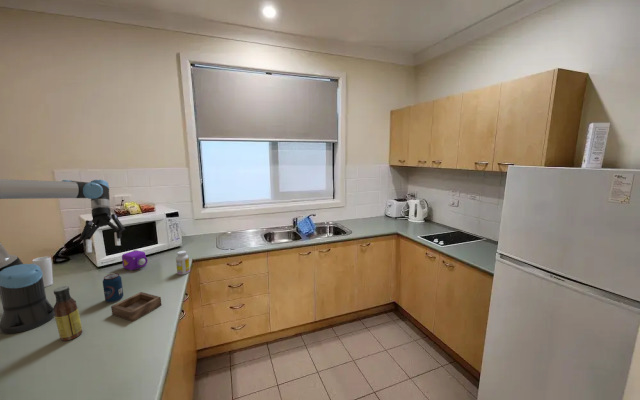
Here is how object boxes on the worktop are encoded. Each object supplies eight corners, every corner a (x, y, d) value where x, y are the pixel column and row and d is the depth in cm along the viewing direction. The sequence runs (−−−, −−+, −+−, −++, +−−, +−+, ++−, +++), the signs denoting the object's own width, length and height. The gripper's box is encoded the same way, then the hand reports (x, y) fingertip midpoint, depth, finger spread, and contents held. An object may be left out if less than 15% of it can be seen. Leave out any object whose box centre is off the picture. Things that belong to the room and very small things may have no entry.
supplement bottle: (189, 269, 158) (187, 249, 156) (190, 273, 152) (188, 252, 150) (176, 271, 154) (175, 251, 152) (177, 276, 148) (175, 254, 146)
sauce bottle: (81, 328, 102) (73, 282, 99) (84, 335, 98) (76, 287, 95) (57, 337, 97) (49, 288, 94) (60, 344, 93) (51, 294, 90)
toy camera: (138, 272, 153) (136, 256, 152) (119, 270, 156) (117, 254, 154) (153, 265, 164) (152, 250, 162) (135, 263, 167) (133, 248, 165)
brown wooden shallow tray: (132, 321, 107) (131, 312, 106) (112, 314, 111) (111, 306, 111) (161, 305, 119) (160, 297, 118) (142, 299, 124) (141, 291, 123)
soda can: (101, 303, 120) (97, 279, 118) (113, 295, 127) (110, 272, 125) (115, 303, 120) (112, 279, 118) (127, 295, 127) (124, 272, 125)
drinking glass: (34, 286, 136) (29, 259, 133) (52, 281, 142) (47, 255, 139) (39, 289, 133) (34, 262, 130) (57, 284, 139) (52, 257, 136)
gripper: (130, 204, 139) (134, 243, 134) (81, 216, 136) (83, 255, 131) (121, 201, 132) (124, 241, 127) (68, 213, 129) (70, 255, 124)
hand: (103, 248), depth 129 cm, fingers open, 13 cm apart
